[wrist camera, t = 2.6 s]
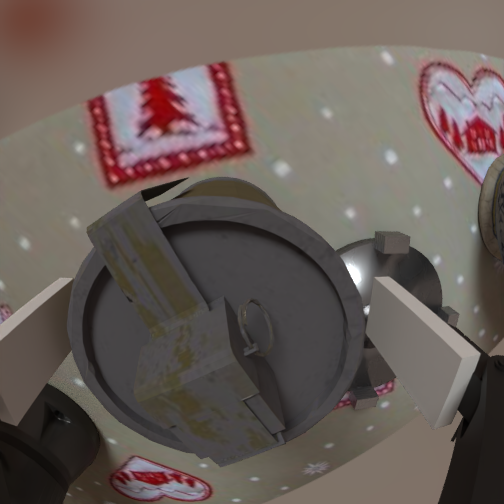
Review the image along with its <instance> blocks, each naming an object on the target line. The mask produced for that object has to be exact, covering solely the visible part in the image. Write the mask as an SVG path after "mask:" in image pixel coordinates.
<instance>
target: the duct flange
mask: <svg viewBox="0 0 504 504" xmlns="http://www.w3.org/2000/svg"><path fill="white" fill-rule="evenodd" d="M409 244H410V236H408V235H405V234H403V233H401V232H386V231H375V238H370V239H365V240H360V241H357V242H354V243H351V244H348V245H346V246H344V247H342V248H340V249H338V250H336V252H337V254H338V255H339V256H340V257H341V258H342V259H343V261H344V263H345V265H346V267H347V269H348V270H349V272H350V274H351V276H352V278H353V280H354V283H355V285H356V287H357V289H358V291H359V293H360V295H361V297H362V304H363V310H364V317H365V325H366V327H367V321H368V315H369V309H370V302H371V296H372V289H373V281H374V277H390V278H392V279H393V280H394V281H395V282H397V283H398V284H399V285H400V286H402V287H403V288H404V289H405V290H407V291H408V292H409V293H410V294H412V295H413V296H414V297H415V298H417V299H418V300H419V301H420V302H421V303H423V304H424V305H425V306H426V307H427V308H429V309H430V310H431V311H432V312H433V313H435V314H436V315H437V316H438V317H439V318H441V319H442V320H443V321H444V322H446V323H448V324H450V325H452V326H454V327H456V325H457V321H458V317H459V313H457V312H456V311H455V310H453V309H452V308H451V307H449V306H446V307H442V289H441V284H440V280H439V277H438V274H437V272H436V270H435V269H434V267H433V265H432V264H431V263H430V261H429V260H428V259H427V258H426V257H425V256H424V255H423V254H422V253H420V252H419V251H417V250H416V249H414V248H412V247H410V246H409ZM365 332H366V330H365ZM396 377H397V376H396V375H395V374H394V372H393V371H392V369H391V368H390V366H389V365H388V364H387V362H386V361H385V359H384V358H383V357H382V355H381V354H380V352H379V351H378V350H377V348H376V347H375V345H374V344H373V343H372V341H371V340H370V338H369V337H368V336H367V334H366V333H365V339H364V347H363V355H362V360H361V362H360V365H359V367H358V370H357V372H356V375H355V377H354V379H353V382H352V384H351V385H350V387H349V388H348V390H347V391H350V396H349V400H350V402H351V404H352V406H353V408H354V410H359V409H365V408H370V407H376V404H377V400H378V395H377V393H376V392H375V390H374V387H377V386H380V385H382V384H384V383H386V382H388V381H390V380H392V379H394V378H396Z"/></svg>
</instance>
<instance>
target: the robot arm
mask: <svg viewBox="0 0 504 504" xmlns="http://www.w3.org/2000/svg"><path fill="white" fill-rule="evenodd" d="M73 281H74V278H59V279H58V280H56V281H55V282H54V283H52V284H51V285H50V286H48V287H47V288H46V289H45V290H43V291H42V292H41V293H39V294H38V295H37V296H35V297H34V298H33V299H32V300H30V301H29V302H28V303H26V304H25V305H24V306H23V307H21V308H20V309H19V310H18V311H16V312H15V313H14V314H13V315H12V316H10V317H9V318H8V319H7V320H5V321H4V322H3V323H2V324H1V325H0V504H63V501H64V499H65V496H66V493H67V491H68V488H69V486H70V485H71V484H72V483H73V482H74V481H75V480H76V479H77V478H78V477H79V476H80V474H81V473H82V472H83V471H84V470H85V469H86V468H87V467H88V466H89V465H91V464H92V463H93V461H94V459H95V457H96V455H97V452H98V449H99V446H100V439H99V435H98V432H97V430H96V428H95V426H94V424H93V423H92V421H91V420H90V418H89V417H88V416H87V415H86V413H85V412H84V411H83V410H82V409H81V408H80V407H79V406H78V405H77V404H76V403H75V402H73V401H72V400H71V399H70V398H69V397H67V396H66V395H65V394H63V393H62V392H60V391H59V390H57V389H56V388H54V387H52V386H50V385H49V384H47V382H48V381H49V379H50V378H51V377H52V375H53V374H54V373H55V371H56V370H57V369H58V367H59V366H60V364H61V363H62V362H63V361H64V359H65V358H66V357H67V355H68V354H69V353H70V351H71V350H72V349H71V345H70V340H69V336H68V332H67V319H68V310H69V302H70V297H71V291H72V285H73ZM365 333H366V334H367V336H368V337H369V338H370V340H371V341H372V343H373V344H374V345H375V347H376V348H377V350H378V351H379V352H380V354H381V355H382V357H383V358H384V359H385V361H386V362H387V364H388V365H389V366H390V368H391V369H392V371H393V372H394V374H395V375H396V376H397V378H398V379H399V381H400V382H401V384H402V385H403V387H404V388H405V389H406V391H407V392H408V394H409V395H410V397H411V398H412V400H413V401H414V403H415V404H416V405H417V407H418V408H419V410H420V411H421V413H422V414H423V416H424V417H425V419H426V420H427V422H428V423H429V425H430V426H431V428H432V429H437V428H440V427H443V426H446V425H449V424H451V423H452V421H453V419H454V417H455V415H456V413H457V410H458V411H459V412H460V413H461V414H462V416H463V418H462V420H461V422H460V424H459V426H458V428H457V430H456V432H455V434H454V436H453V438H452V439H451V441H454V440H455V438H456V442H455V447H454V451H453V455H452V459H451V463H450V466H449V470H448V473H447V477H446V480H445V484H444V487H443V490H442V493H441V496H440V499H439V502H438V504H504V356H499V355H496V356H492V357H490V356H489V355H487V354H486V353H485V352H484V351H483V350H482V349H481V348H479V347H478V346H477V345H476V344H475V343H474V342H473V341H470V339H469V338H468V337H467V336H466V335H465V336H464V334H463V333H462V332H461V331H460V330H459V329H457V328H456V327H454V326H452V325H450V324H448V323H446V322H444V321H443V320H442V319H441V318H439V317H438V316H437V315H436V314H435V313H433V312H432V311H431V310H430V309H429V308H427V307H426V306H425V305H424V304H423V303H421V302H420V301H419V300H418V299H417V298H415V297H414V296H413V295H412V294H410V293H409V292H408V291H407V290H405V289H404V288H403V287H402V286H400V285H399V284H398V283H397V282H395V281H394V280H393V279H392V278H390V277H374V281H373V289H372V296H371V302H370V309H369V315H368V321H367V327H366V332H365Z"/></svg>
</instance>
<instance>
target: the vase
mask: <svg viewBox="0 0 504 504" xmlns="http://www.w3.org/2000/svg"><path fill="white" fill-rule="evenodd" d="M479 221H480V228H481V233H482V237H483V240H484V243H485V245H486V246H487V248H488V250H489V251H490V252H491V254H492V255H493V256H495V257H496V258H498V259H499V260H502V262H503V264H504V154H502V155H501V156H500V157H498V158H496V160H495V161H494V162H493V163H492V164H491V166H490V167H489V169H488V171H487V174H486V176H485V179H484V182H483V185H482V190H481V195H480V201H479Z"/></svg>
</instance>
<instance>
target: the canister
mask: <svg viewBox="0 0 504 504" xmlns="http://www.w3.org/2000/svg"><path fill="white" fill-rule="evenodd" d="M188 178H189V177H188ZM188 178H184V179H181V180H177V181H173V182H170V183H166V184H162V185H159V186H155V187H152V188H148V189H145V190H141V191H140V192H138V193H137V194H135V195H134V196H132V197H130V198H129V199H127V200H126V201H124V202H123V203H121V204H120V205H118V206H117V207H116V208H114V209H113V210H111V211H110V212H108V213H107V214H105V215H104V216H102V217H101V218H100V219H98V220H97V221H95V222H94V223H93V224H91V225H90V226H88V227H87V234H88V237H89V238H90V240H91V242H92V244H93V245H94V248H93V249H92V250H91V252H90V253H89V254H88V256H87V257H86V258H85V260H84V261H83V262H82V265H81V267H80V269H79V271H78V273H77V275H76V277H75V279H74V281H73V285H72V291H71V297H70V302H69V310H68V319H67V332H68V336H69V340H70V345H71V349H72V353H73V357H74V360H75V362H76V364H77V367H78V369H79V371H80V374H81V376H82V378H83V380H84V383H85V384H86V385H87V387H88V388H89V389H90V390H91V392H92V393H93V394H94V395H95V397H96V398H97V399H98V400H99V401H100V403H101V404H102V405H103V406H104V407H105V409H106V410H107V411H108V412H109V413H110V414H111V415H113V416H114V417H115V418H116V419H117V420H118V421H119V422H120V423H122V424H124V425H125V426H127V427H129V428H130V429H132V430H134V431H135V432H137V433H139V434H140V435H142V436H144V437H146V438H147V439H149V440H151V441H154V442H156V443H159V444H162V445H164V446H167V447H170V448H173V449H176V450H180V451H183V452H186V453H195V454H196V455H197V456H198V457H199V458H200V459H203V458H206V457H209V458H211V459H212V460H213V461H214V462H215V463H216V464H218V465H219V466H220V467H223V466H226V465H229V464H232V463H235V462H238V461H240V460H243V459H246V458H249V457H251V456H254V455H257V454H259V453H262V452H264V451H267V450H269V449H272V448H274V447H277V446H279V445H283V444H286V442H288V441H290V440H292V439H294V438H296V437H297V436H299V435H301V434H303V433H305V432H306V431H307V430H309V429H310V428H311V427H313V426H314V425H315V424H316V423H318V422H319V421H320V420H321V419H322V418H324V417H325V416H326V415H327V414H328V413H330V412H331V411H332V410H333V409H334V407H335V406H336V405H337V404H338V403H339V401H340V400H341V399H342V397H343V396H344V394H345V393H346V391H347V390H348V388H349V387H350V385H351V384H352V382H353V379H354V377H355V375H356V372H357V370H358V367H359V365H360V362H361V360H362V355H363V347H364V339H365V330H366V325H365V317H364V310H363V304H362V297H361V295H360V293H359V291H358V289H357V287H356V285H355V283H354V280H353V278H352V276H351V274H350V272H349V270H348V269H347V267H346V265H345V263H344V261H343V259H342V258H341V257H340V256H339V255H338V254H337V252H336V251H335V250H334V249H333V248H332V247H331V246H330V245H329V244H328V243H327V242H326V241H325V240H324V239H323V238H322V237H321V236H320V235H319V234H318V233H316V232H315V231H314V230H312V229H311V228H310V227H309V226H307V225H306V224H304V223H303V222H301V221H300V220H298V219H297V218H295V217H293V216H291V215H289V214H286V213H284V212H282V211H281V210H280V209H279V208H278V207H277V206H276V204H275V203H274V202H273V200H272V199H271V198H270V197H269V196H268V195H267V194H266V193H265V192H264V191H262V190H261V189H260V188H258V187H257V186H255V185H253V184H251V183H249V182H247V181H244V180H241V179H237V178H229V177H217V178H210V179H206V180H203V181H200V182H197V183H195V184H193V185H191V186H190V187H188V188H187V189H185V190H184V191H183V192H182V193H181V194H180V195H178V196H177V197H175V198H173V199H171V200H170V201H167V202H164V203H161V204H158V205H155V206H152V207H149V208H148V206H147V205H146V203H145V201H147V200H150V199H152V198H154V197H157V196H159V195H161V194H163V193H164V192H166V191H168V190H169V189H171V188H173V187H174V186H176V185H178V184H179V183H181V182H183V181H184V180H186V179H188Z"/></svg>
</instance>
